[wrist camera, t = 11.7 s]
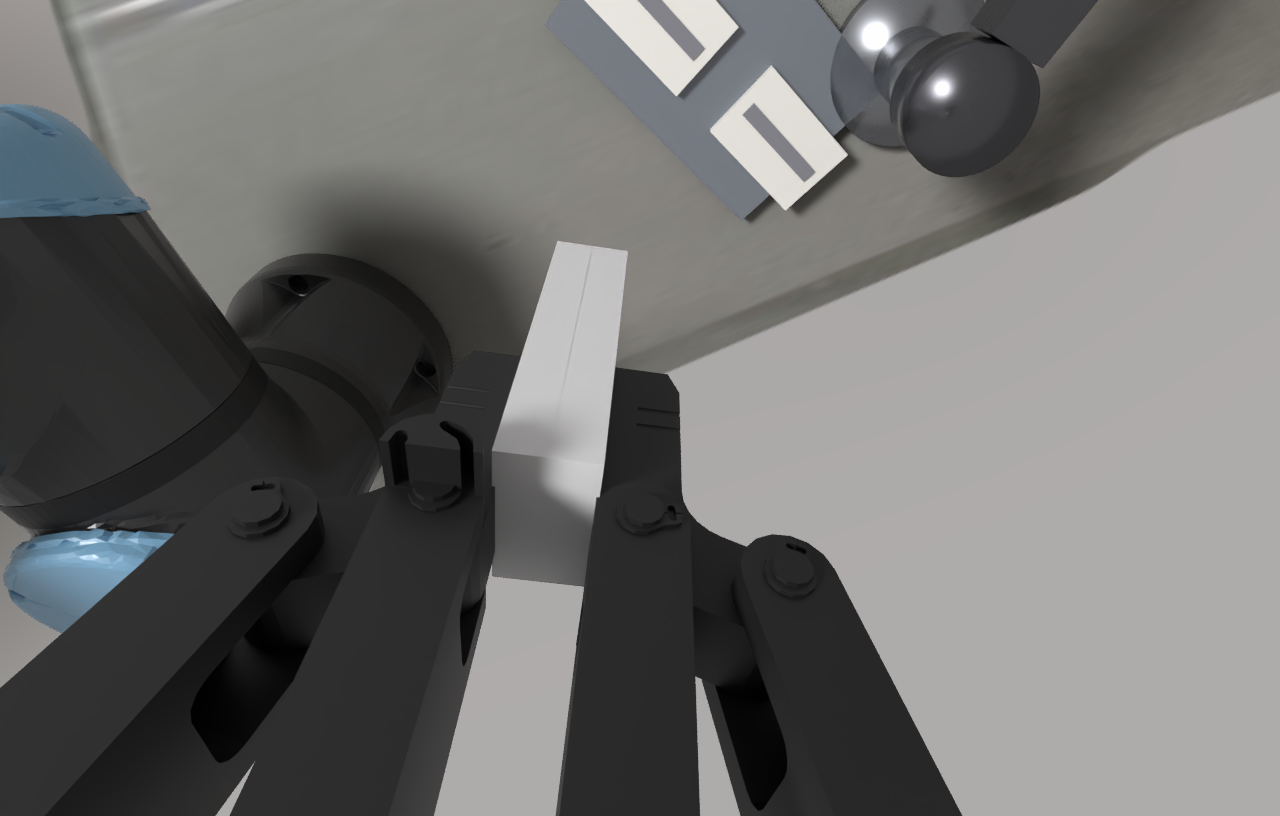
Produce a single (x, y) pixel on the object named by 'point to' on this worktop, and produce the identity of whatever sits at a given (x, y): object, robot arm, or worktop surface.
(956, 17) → the round pedestal stand
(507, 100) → the worktop surface
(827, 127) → the label board
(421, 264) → the worktop surface
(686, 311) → the worktop surface
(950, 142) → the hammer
